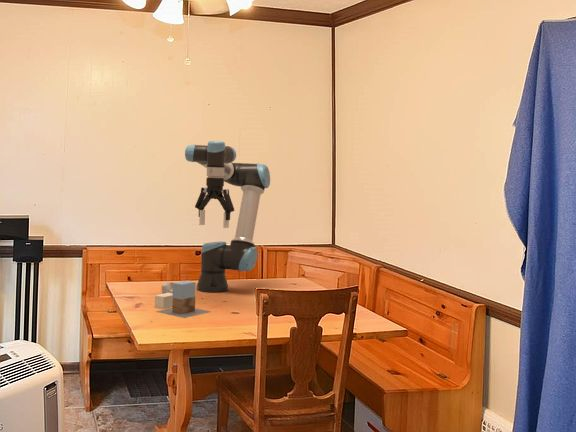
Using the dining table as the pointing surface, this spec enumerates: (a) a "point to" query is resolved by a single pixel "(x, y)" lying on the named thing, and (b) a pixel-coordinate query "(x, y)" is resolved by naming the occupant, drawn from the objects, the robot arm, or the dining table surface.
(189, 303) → the brick base
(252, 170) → the robot arm
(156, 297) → the brick
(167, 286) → the toy
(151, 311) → the dining table surface
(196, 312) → the build board
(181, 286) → the brick top
